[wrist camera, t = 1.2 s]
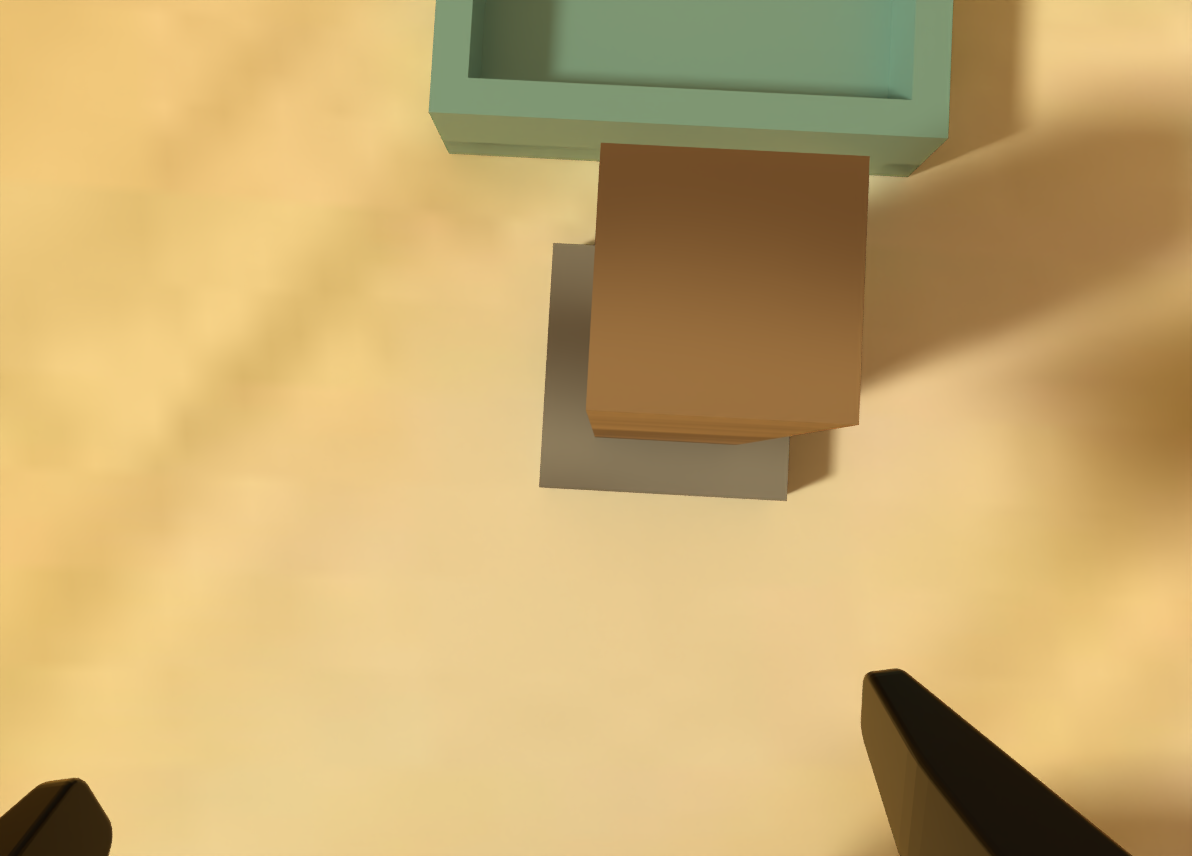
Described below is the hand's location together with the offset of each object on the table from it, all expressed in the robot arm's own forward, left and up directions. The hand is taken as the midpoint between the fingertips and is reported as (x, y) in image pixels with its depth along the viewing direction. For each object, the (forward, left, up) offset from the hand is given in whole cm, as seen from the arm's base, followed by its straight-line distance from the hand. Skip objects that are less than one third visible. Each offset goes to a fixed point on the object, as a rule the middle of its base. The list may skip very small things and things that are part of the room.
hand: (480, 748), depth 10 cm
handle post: (+3, -6, -15) cm, 17 cm away
